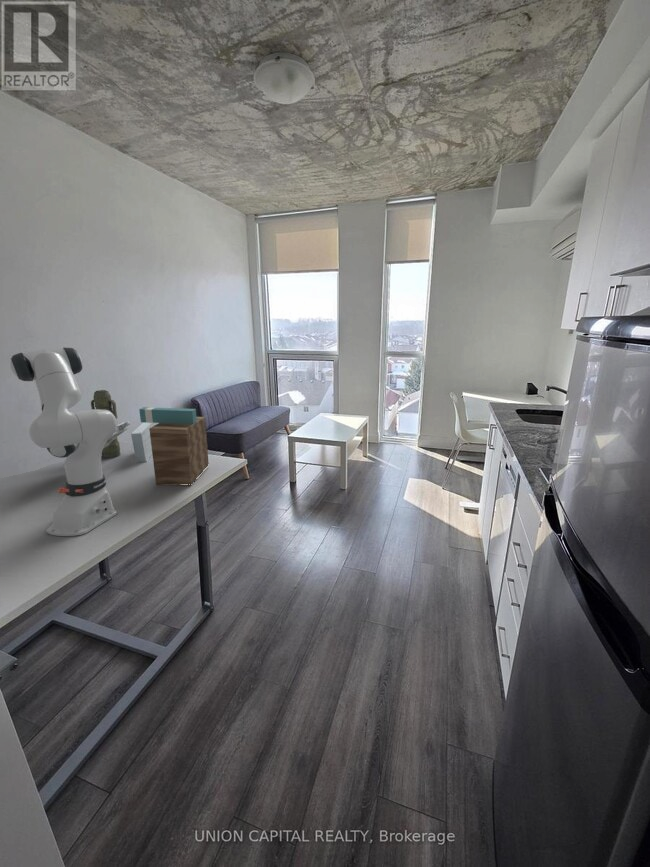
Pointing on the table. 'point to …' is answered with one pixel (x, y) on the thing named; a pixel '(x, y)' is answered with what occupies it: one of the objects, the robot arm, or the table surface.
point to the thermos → (105, 403)
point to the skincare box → (142, 442)
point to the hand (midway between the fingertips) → (122, 425)
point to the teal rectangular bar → (168, 415)
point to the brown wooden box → (179, 451)
